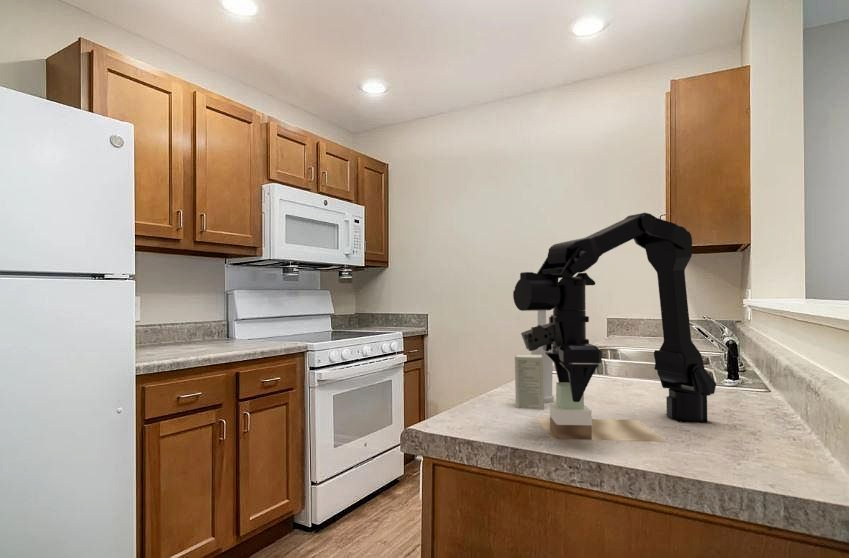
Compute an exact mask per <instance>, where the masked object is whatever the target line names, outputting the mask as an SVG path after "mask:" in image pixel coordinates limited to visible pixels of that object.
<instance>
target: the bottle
mask: <svg viewBox="0 0 849 558" xmlns="http://www.w3.org/2000/svg"><path fill="white" fill-rule="evenodd" d="M545 324H547V310H540V311H537V326H538V325H541V326H542V325H545ZM545 352H549V351H545V350H543V346H541V347H539V348H538V349H536V350H533V351H530V355H542V356H543V397H544V404H550V403H554V395H553V366H554V362H553V361H552V360H551V359H550V358H549V357H548V356H547V355H546V354H545Z"/></svg>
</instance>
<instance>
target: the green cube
mask: <svg viewBox="0 0 849 558" xmlns="http://www.w3.org/2000/svg"><path fill="white" fill-rule="evenodd" d="M555 385H556V386H555V393H556V395H555V403H556V404H557V405H558V406H559V407H560V408H561V409H584V405H585V401H584V400H585V392H584V393H583V396H582V398H581V400H580V402H574V401H573V400H572V394H571V389H570V383H567V382H559V381H558V382H557V381H556V382H555Z"/></svg>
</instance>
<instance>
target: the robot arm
mask: <svg viewBox="0 0 849 558" xmlns="http://www.w3.org/2000/svg"><path fill="white" fill-rule="evenodd" d="M631 240H634V242H635V244H636V245H638V246H639V247H641V248H643V249H644V250H645V254H646V257H647V261H648V263H650V265H651V267H652V268H653V269H654V271H655V272H656V274H657V284H658V285H657V286H658V293H659V303H660V314H661V316H660V317H661V326H662V334H663V343H661V346H660V348H659V350H657V349H655V350H654V352H653V357H654V370H655V371H657V375H658V377H659V381H660V383H661V387H662V388H663V389H668V395H667V396H666V413H665V416H666V417H668V418H670V419H672V420H674V421H676V422H677V423H681V424H682V423H685V424H689V423H690V424H693V423H694V424H712V423H713V422H712V421H711V420H708V396H711V395H714V394H715V391H716V389H717V388H716V387H717V383H716V381H715V380H714V379H713V377H712V376H711V375H710V374H709V373H708V371H707V370H706V368H705V365H704V364H705V363H704V360H703V356H702V353H701V352H700V351H699V349H698V347H697V346H696V345H695V344H694V343H693V341H692V336H691V334H692V333H691V325H690V313H689V304H688V294H687V293H688V292H687V284H686V273H685V270H686V267H687V266H688V264H689V262H690V260H691V258H692V257H693V255H692V254H693V237H692V234H691V232H690V231H688V230H687V229H686V227H684V226H680V225H678V224H676V223H674V222H671V221H668V220H666V219H665V220H664V219H661V218H658V217H656V216H654V215H653V214H651V213H648V212H642V213H637V214H636V213H635V214H631V215H627V216H626V217H625V218H624V219H622V220H620V221H617V222H615V223H613V224H611V225H609V226H607V227H605V228H603V229H601V230H598V231H596V232H594V233H591V234H590V235H588V236H586V237H585V236H584V237H583V238H577V239H572V240H567V241H563V242H559V243H558V242H557V243H554V244H553V245H552V246H550V247H549V248H548V253H547V256H546V259H545V260H544V261H543V263H542V265H541V266H540V268H539V269H538V271H537V272H536V273H535V272H531V271H526V272H525V271H524V272H520V274H519V279H518V280H517V282H516V284H515V286H514V290H513V291H512V292H513V294H512V297H513V301H514V305H515V307H516V308H517V310H519V311H522V312H525V311H526V312H527V311H528V312H529V311H530V312H531V311H532V312H533V311H534V312H535V311H537V312H538V311H540V310H546V311H552V314H550V316H549V317H548V323H546V324H545V325H542V326H541V325H538V324H537V326H531V328H530V329H528V330H525V331H523V332H521V333H520V335H521V338H522V340H523V343H524V345H525V349H526V350H528V351H529V352H531V351H533V350H536V349H538V348H539V347H541V346H543V350H545V351H549V352H545V354H546V355H547V356H548V357H549V358H550V359H551V360H552V361H553V366H554V368H555V372H556V377H557V381H558V382H567V383H570V389H571V394H572V400H573V401H574V402H580V400H581V398H582V396H583V393H584V394H585V391H586V389H587V387H588V385H589V382H590V381H591V378H592V377H593V375H594V373H595V371H596V369H597V368H599V365H600V364H602V359H603V358H602V355H603V354H602V350H601V349H599V347H598V346H597V345H595V344H592V343H590V339H588V338H587V337H586V335H587V331H586V330H587V328H586V326H587V325H586V323H589V321H590V316H587V315H586V314H587V313H586V311H587V310H586V286H596V282H595V280H594V279H593V278H592V277H590V276H589V275H588V273H587V272H586V271H588V270H589V269H590V268H591V267H592V266H594V265H596V263H597V262H598V260H599V258H600V257H601V256H602V255H604V254H605V253H607V252H610V251H611V250H614V249H616V248H618V247H620V246H622V245H623V244H626V243H628V242H629V241H631ZM559 279H560V280H559Z"/></svg>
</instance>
